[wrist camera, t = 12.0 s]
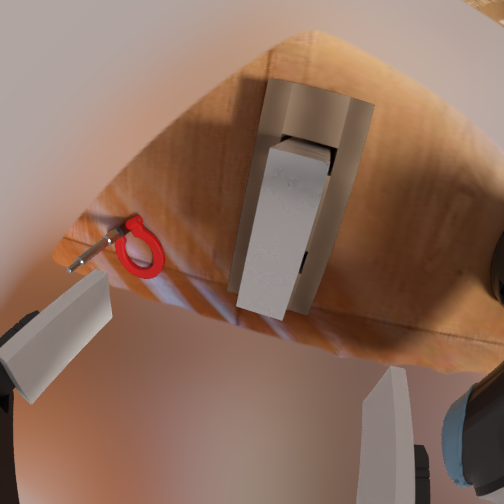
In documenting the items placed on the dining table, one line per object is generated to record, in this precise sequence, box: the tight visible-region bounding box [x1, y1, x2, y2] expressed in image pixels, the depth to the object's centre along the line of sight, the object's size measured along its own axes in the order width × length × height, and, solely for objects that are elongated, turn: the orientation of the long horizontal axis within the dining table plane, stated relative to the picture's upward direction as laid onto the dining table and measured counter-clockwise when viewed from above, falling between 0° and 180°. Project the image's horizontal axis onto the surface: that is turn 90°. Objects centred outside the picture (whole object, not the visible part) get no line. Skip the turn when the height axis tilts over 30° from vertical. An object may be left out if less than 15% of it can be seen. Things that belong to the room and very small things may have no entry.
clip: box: [236, 137, 330, 321], centre depth 27 cm, size 4×13×13 cm, turn 169°
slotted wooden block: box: [227, 78, 375, 316], centre depth 31 cm, size 10×24×4 cm, turn 169°
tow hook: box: [67, 215, 165, 279], centre depth 36 cm, size 8×13×9 cm
